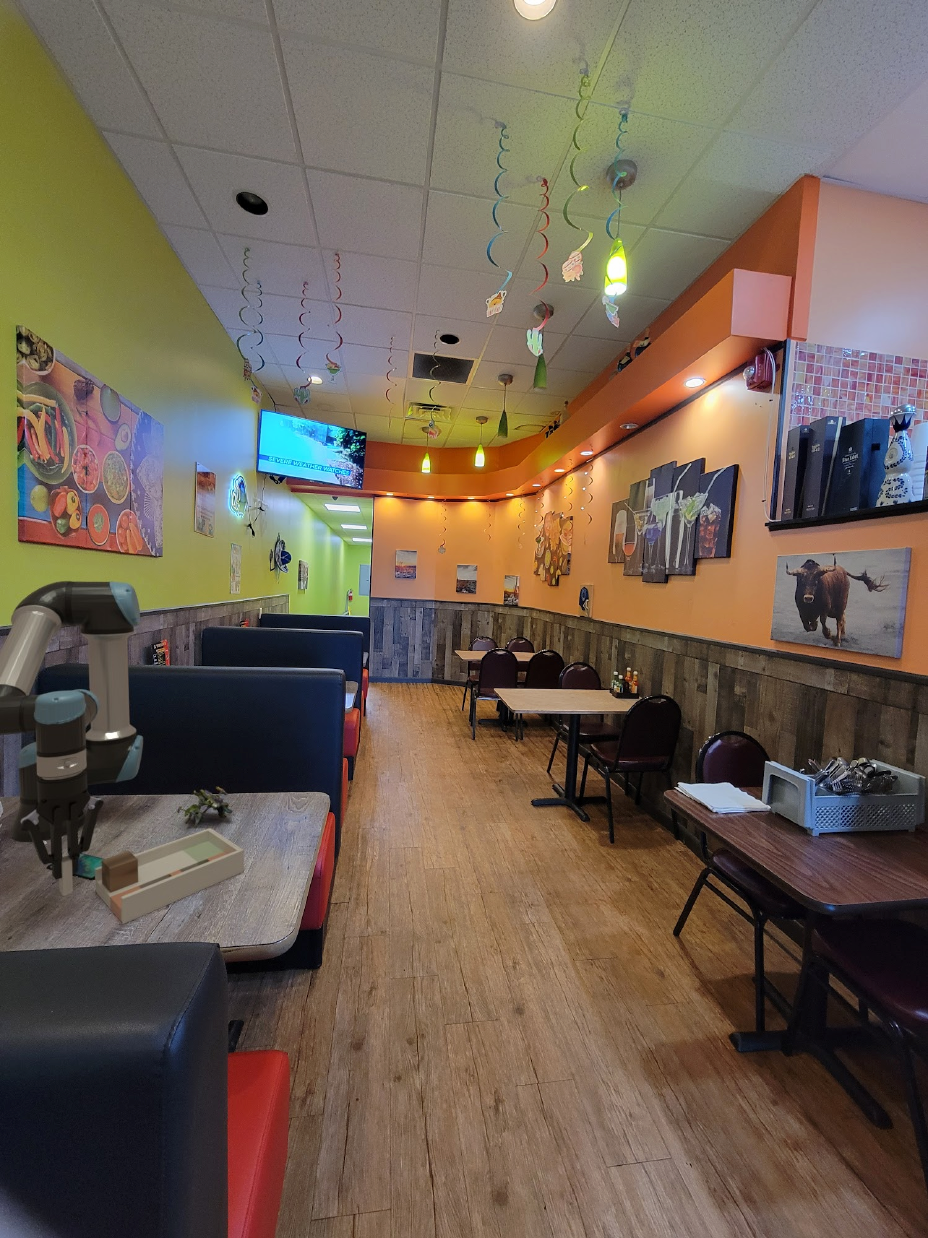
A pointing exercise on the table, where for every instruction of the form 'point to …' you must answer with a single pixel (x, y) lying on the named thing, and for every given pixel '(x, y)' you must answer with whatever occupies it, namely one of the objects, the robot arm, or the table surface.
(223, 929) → the table surface
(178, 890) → the tray
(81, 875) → the smartphone
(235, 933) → the table surface
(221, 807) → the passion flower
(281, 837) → the table surface
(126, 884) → the walnut block
